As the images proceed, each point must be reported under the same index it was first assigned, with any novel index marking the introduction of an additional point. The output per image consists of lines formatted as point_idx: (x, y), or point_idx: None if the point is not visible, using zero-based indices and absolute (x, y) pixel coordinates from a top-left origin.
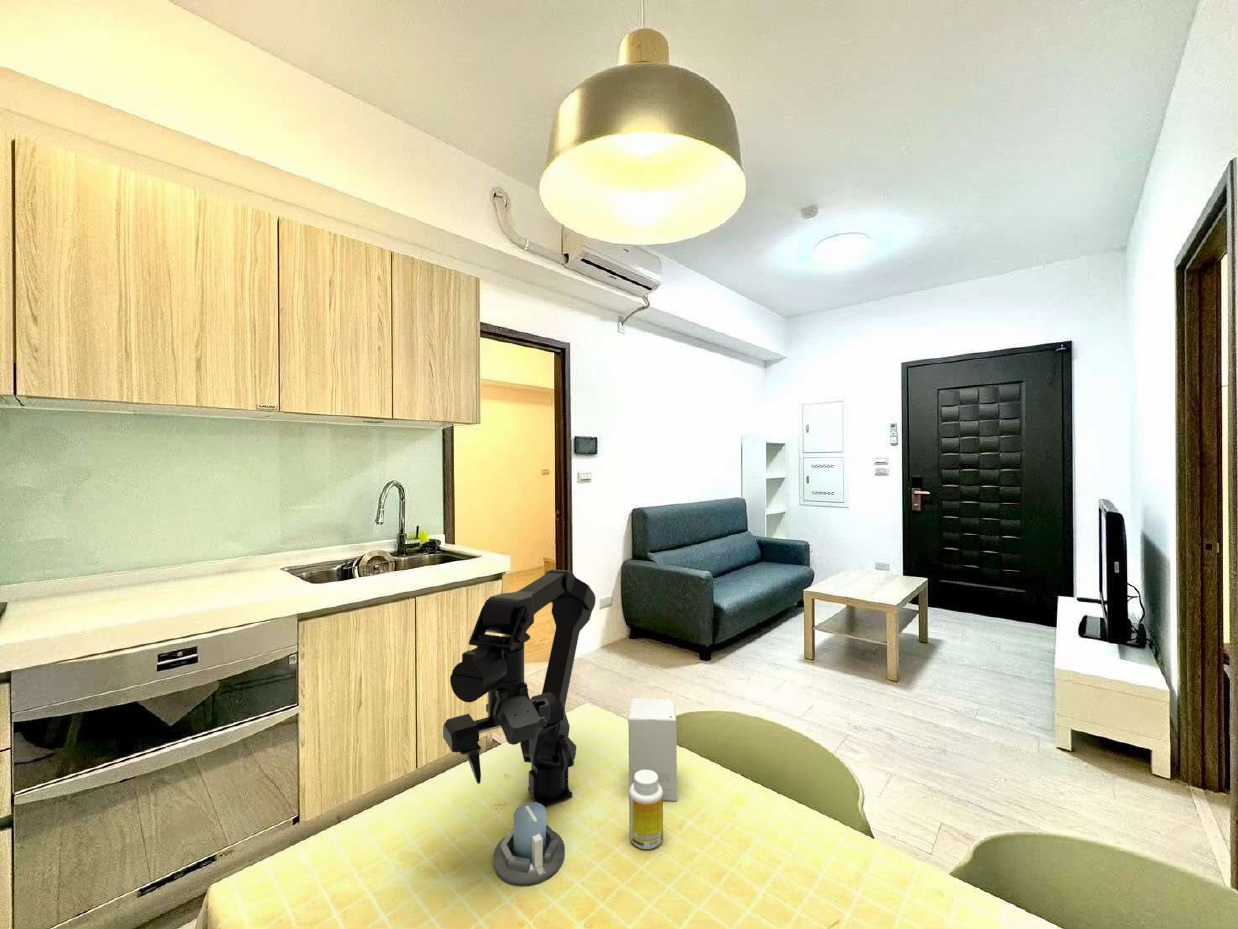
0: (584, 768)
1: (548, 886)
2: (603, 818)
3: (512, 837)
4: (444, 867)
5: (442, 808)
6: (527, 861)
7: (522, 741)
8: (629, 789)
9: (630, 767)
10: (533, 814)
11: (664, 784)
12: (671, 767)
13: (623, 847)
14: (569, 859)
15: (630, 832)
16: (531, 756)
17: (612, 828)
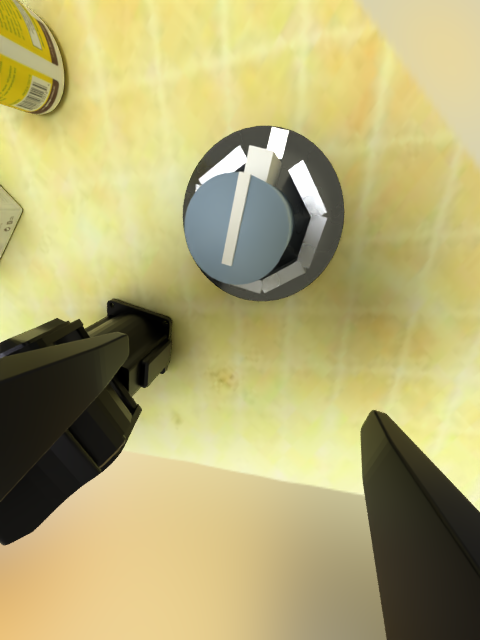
0: None
1: (281, 107)
2: (87, 203)
3: (269, 275)
4: (394, 332)
5: (298, 440)
6: (298, 166)
7: (109, 454)
8: (2, 211)
9: None
10: (232, 209)
11: None
12: None
13: (87, 85)
14: (199, 150)
15: (46, 72)
16: (107, 364)
17: (84, 162)
